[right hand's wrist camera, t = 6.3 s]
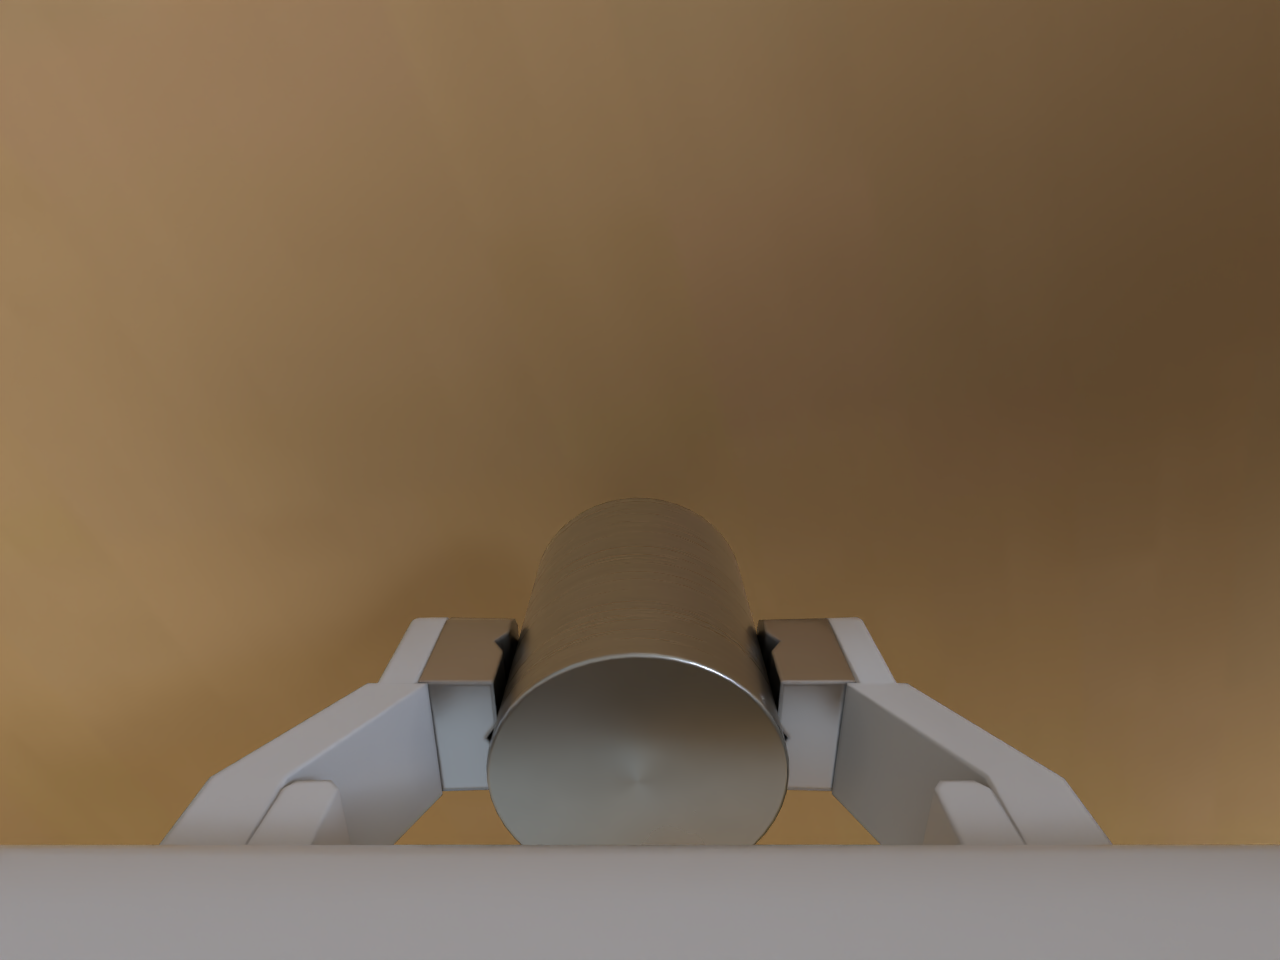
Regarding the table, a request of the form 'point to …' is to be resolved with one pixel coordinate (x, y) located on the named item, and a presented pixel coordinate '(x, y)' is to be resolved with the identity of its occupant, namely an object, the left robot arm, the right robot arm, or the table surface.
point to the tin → (638, 691)
